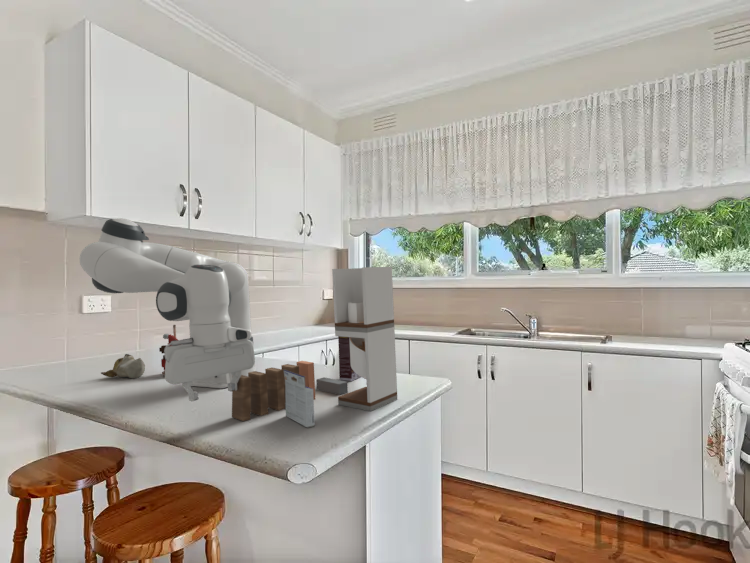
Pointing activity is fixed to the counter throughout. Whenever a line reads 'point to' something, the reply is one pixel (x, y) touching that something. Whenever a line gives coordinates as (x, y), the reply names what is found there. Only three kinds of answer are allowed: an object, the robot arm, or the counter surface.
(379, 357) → the white tower
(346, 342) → the supplement box
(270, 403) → the domino
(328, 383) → the block
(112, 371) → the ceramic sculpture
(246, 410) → the domino
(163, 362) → the santa mouse candy apple
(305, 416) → the ink box
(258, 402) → the domino
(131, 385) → the counter surface
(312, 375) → the end domino
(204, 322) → the robot arm
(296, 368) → the domino
